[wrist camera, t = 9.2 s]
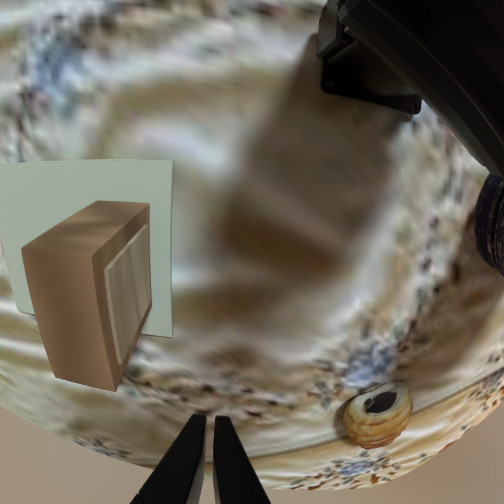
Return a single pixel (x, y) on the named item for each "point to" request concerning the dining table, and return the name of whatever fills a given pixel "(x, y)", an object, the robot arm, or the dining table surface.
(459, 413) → the dining table surface
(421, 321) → the dining table surface
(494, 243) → the storage jar
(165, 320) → the mat
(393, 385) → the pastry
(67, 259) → the wooden block
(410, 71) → the robot arm
